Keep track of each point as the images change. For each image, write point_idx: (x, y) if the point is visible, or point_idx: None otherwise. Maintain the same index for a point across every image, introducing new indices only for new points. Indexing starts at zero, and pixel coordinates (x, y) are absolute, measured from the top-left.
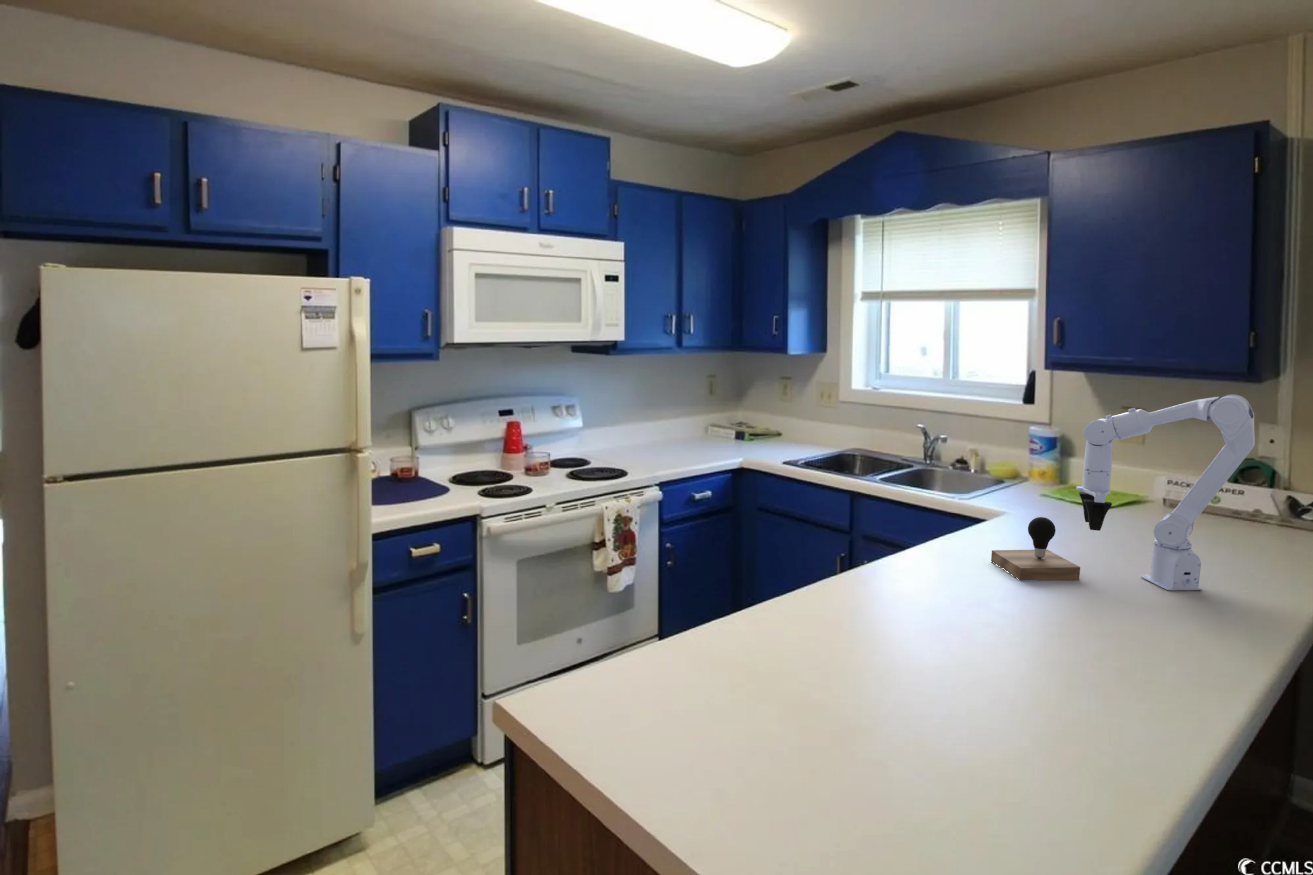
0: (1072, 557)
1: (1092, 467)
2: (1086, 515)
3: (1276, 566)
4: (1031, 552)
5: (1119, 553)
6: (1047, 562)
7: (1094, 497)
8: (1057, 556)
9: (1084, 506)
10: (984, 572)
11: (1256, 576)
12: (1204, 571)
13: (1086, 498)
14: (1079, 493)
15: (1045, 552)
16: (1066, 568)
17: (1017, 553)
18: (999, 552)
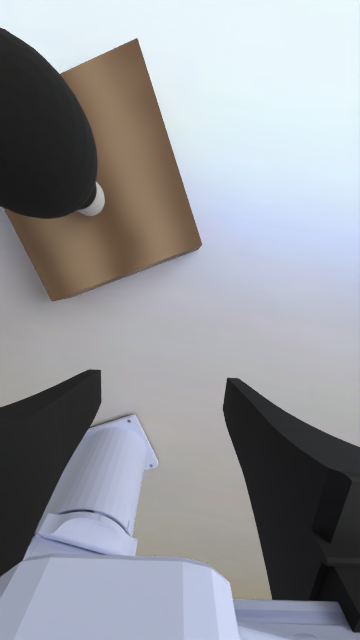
0: (248, 316)
1: None
2: (236, 396)
3: (265, 593)
4: (154, 188)
5: (300, 414)
6: (60, 220)
7: (287, 550)
8: (135, 260)
9: (262, 419)
10: (30, 43)
11: (203, 560)
12: (210, 510)
13: (293, 484)
14: (358, 480)
15: (85, 212)
16: (35, 265)
17: (127, 137)
18: (118, 67)
